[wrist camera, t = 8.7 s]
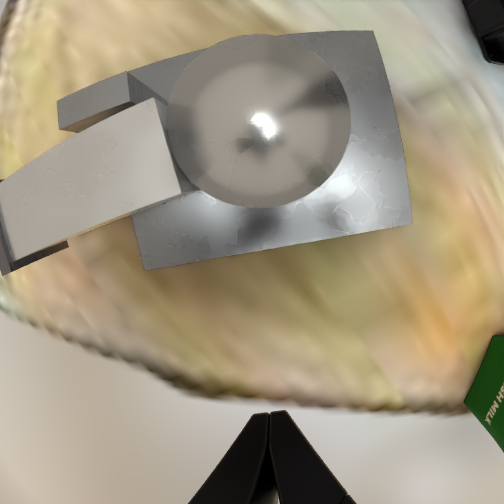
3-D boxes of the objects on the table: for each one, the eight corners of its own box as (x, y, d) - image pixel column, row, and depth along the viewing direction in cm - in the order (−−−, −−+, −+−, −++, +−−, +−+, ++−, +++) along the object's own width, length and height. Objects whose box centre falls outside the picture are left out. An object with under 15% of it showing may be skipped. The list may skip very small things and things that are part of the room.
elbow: (302, 60, 13) (319, 12, 8) (341, 179, 15) (378, 181, 10) (36, 166, 15) (-25, 168, 10) (65, 266, 16) (10, 295, 11)
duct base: (368, 36, 15) (407, -13, 9) (405, 221, 18) (464, 243, 11) (112, 84, 16) (55, 53, 10) (146, 266, 19) (97, 306, 13)
